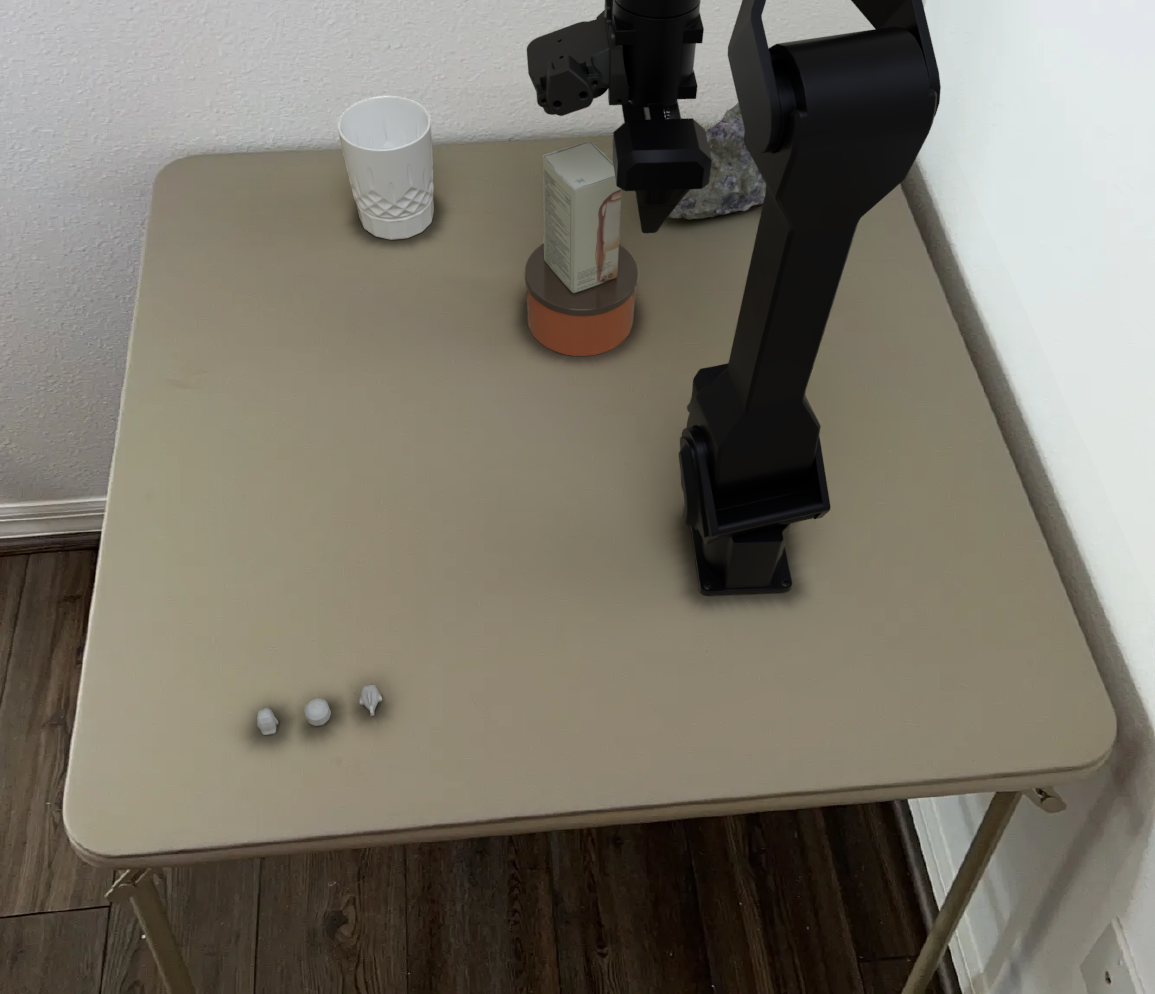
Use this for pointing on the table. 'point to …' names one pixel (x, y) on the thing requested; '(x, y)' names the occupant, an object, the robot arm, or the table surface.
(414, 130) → the white cup
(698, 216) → the mineral rock
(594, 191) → the cream cardboard box
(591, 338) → the jar
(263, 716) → the game pieces
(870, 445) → the table surface
